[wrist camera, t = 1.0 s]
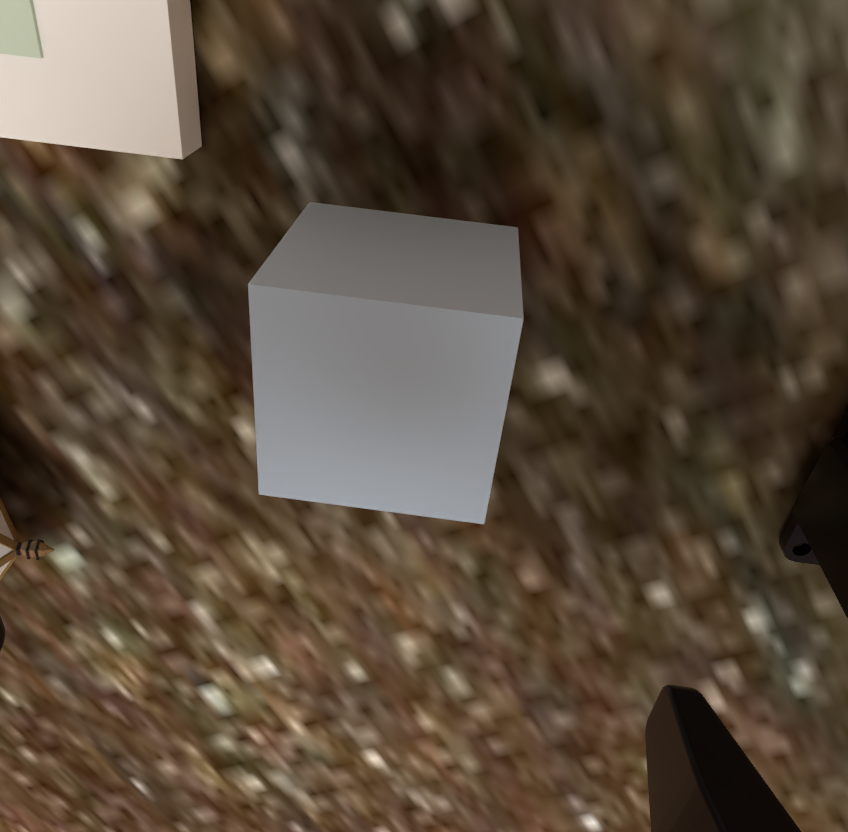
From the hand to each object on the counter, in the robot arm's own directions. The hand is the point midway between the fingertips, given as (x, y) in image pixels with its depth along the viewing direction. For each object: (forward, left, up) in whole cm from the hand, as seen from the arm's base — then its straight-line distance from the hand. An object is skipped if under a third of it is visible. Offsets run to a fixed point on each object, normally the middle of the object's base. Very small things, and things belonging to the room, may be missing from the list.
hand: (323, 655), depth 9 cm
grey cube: (0, 0, -11) cm, 11 cm away
